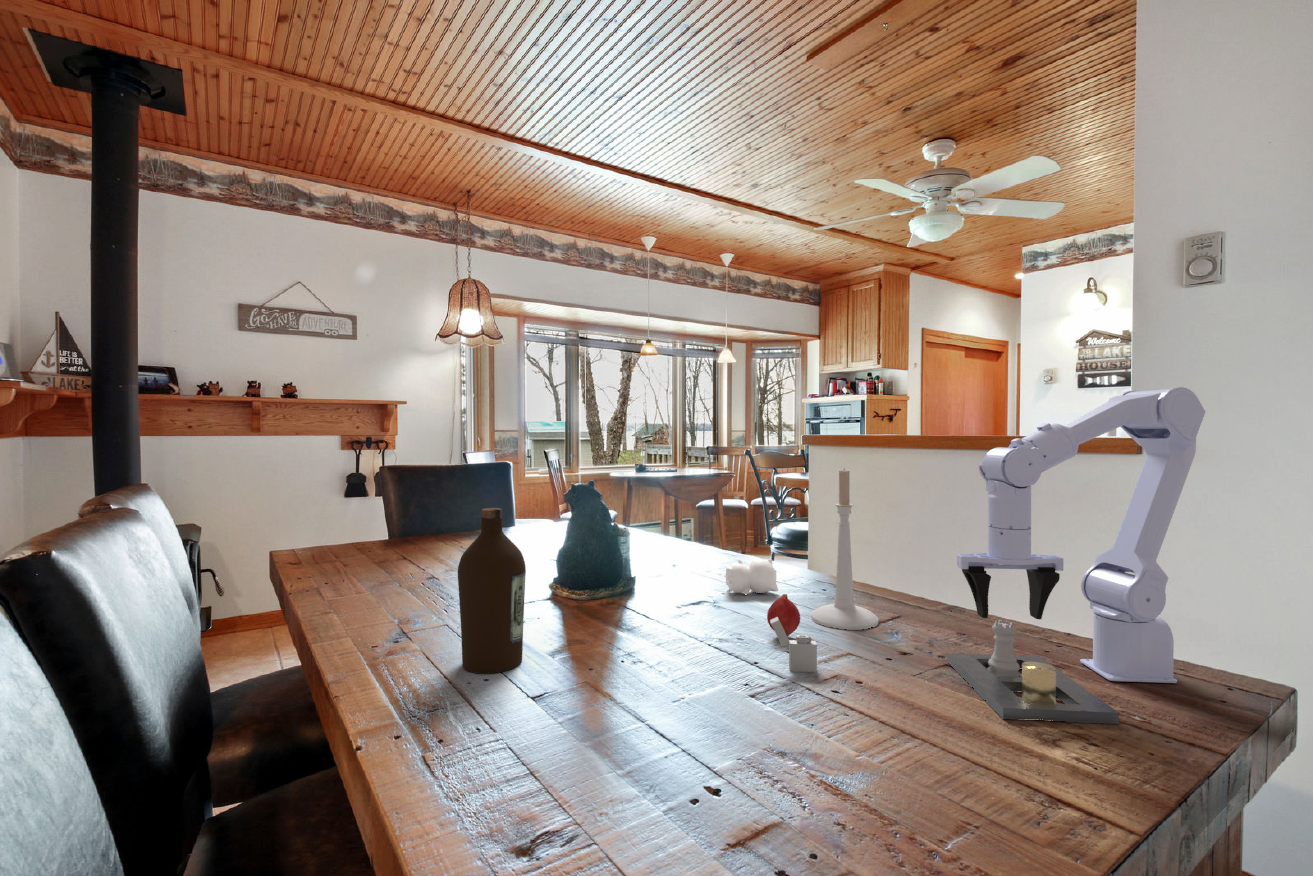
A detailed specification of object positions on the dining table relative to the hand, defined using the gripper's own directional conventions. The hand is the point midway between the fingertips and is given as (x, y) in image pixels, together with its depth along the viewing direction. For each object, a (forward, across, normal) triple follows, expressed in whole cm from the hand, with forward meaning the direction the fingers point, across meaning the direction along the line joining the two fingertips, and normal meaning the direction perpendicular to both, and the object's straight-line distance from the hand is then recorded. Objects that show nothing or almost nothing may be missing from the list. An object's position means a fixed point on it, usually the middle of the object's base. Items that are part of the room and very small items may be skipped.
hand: (1009, 616), depth 95 cm
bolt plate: (+9, 0, +4) cm, 10 cm away
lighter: (+9, +32, 0) cm, 33 cm away
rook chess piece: (+10, 0, -1) cm, 10 cm away
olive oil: (+9, +80, +2) cm, 81 cm away
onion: (+9, +32, -16) cm, 37 cm away
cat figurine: (+10, +37, -47) cm, 60 cm away
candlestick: (+10, +19, -28) cm, 35 cm away
